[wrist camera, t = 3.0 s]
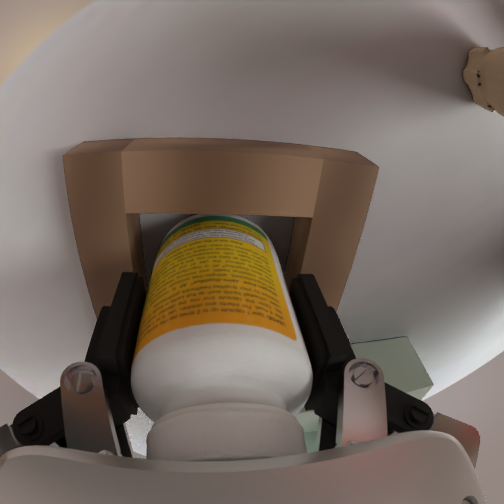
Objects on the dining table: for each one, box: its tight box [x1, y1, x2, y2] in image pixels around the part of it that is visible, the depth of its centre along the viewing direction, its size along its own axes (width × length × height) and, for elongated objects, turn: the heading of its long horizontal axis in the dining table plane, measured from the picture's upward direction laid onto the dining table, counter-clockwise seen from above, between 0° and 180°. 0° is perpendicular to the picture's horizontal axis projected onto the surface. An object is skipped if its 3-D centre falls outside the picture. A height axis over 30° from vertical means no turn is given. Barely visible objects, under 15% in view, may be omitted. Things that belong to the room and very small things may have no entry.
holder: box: [63, 138, 379, 319], centre depth 13 cm, size 11×11×2 cm
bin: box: [295, 337, 434, 453], centre depth 20 cm, size 13×13×4 cm
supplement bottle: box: [131, 214, 313, 461], centre depth 10 cm, size 5×5×10 cm
